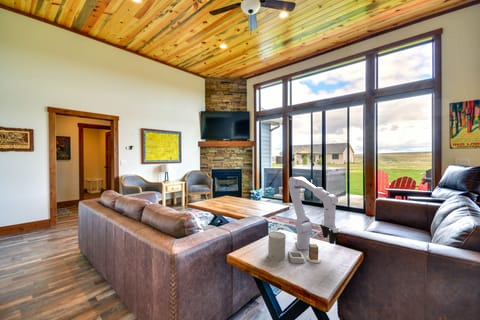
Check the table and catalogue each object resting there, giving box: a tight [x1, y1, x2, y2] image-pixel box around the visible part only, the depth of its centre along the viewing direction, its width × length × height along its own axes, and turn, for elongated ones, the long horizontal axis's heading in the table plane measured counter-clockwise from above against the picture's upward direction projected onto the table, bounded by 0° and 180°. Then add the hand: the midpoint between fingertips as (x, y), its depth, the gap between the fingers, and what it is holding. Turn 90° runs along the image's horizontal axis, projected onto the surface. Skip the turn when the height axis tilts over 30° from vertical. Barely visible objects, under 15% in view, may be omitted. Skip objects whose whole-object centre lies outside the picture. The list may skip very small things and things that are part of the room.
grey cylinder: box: [267, 231, 287, 262], centre depth 118 cm, size 10×10×12 cm
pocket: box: [287, 251, 305, 264], centre depth 115 cm, size 7×7×2 cm
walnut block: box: [308, 243, 319, 260], centre depth 116 cm, size 4×4×7 cm
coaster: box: [305, 254, 323, 264], centre depth 116 cm, size 8×8×1 cm
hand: (328, 240), depth 116 cm, fingers open, 7 cm apart
